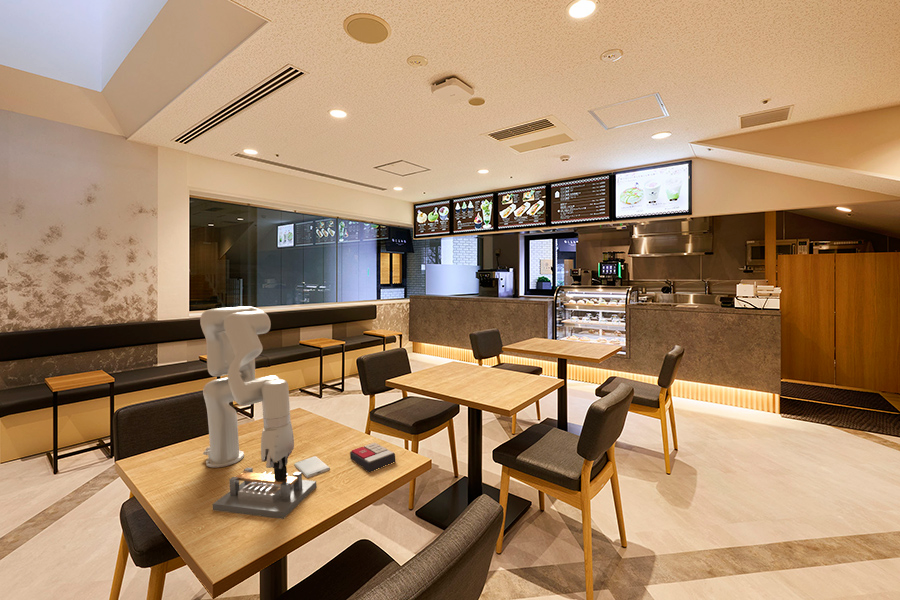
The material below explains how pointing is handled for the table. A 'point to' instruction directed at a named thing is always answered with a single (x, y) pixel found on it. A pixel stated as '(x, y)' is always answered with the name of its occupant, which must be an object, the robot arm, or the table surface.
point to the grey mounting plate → (264, 503)
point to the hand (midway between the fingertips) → (280, 479)
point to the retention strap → (264, 478)
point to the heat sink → (264, 489)
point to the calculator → (372, 456)
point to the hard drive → (311, 466)
